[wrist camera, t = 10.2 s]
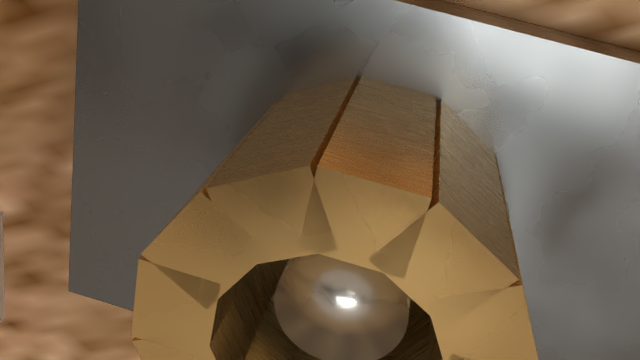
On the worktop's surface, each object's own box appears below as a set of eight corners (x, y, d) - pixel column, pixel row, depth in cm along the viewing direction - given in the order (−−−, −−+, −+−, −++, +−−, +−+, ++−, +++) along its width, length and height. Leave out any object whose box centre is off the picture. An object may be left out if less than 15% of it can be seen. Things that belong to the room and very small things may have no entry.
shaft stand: (98, 260, 22) (-23, 384, 17) (119, -83, 17) (-49, -76, 11) (577, 405, 21) (627, 597, 15) (762, 83, 16) (947, 187, 10)
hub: (211, 286, 19) (121, 432, 14) (251, 46, 16) (152, 119, 10) (453, 360, 19) (456, 542, 13) (551, 127, 15) (609, 248, 10)
